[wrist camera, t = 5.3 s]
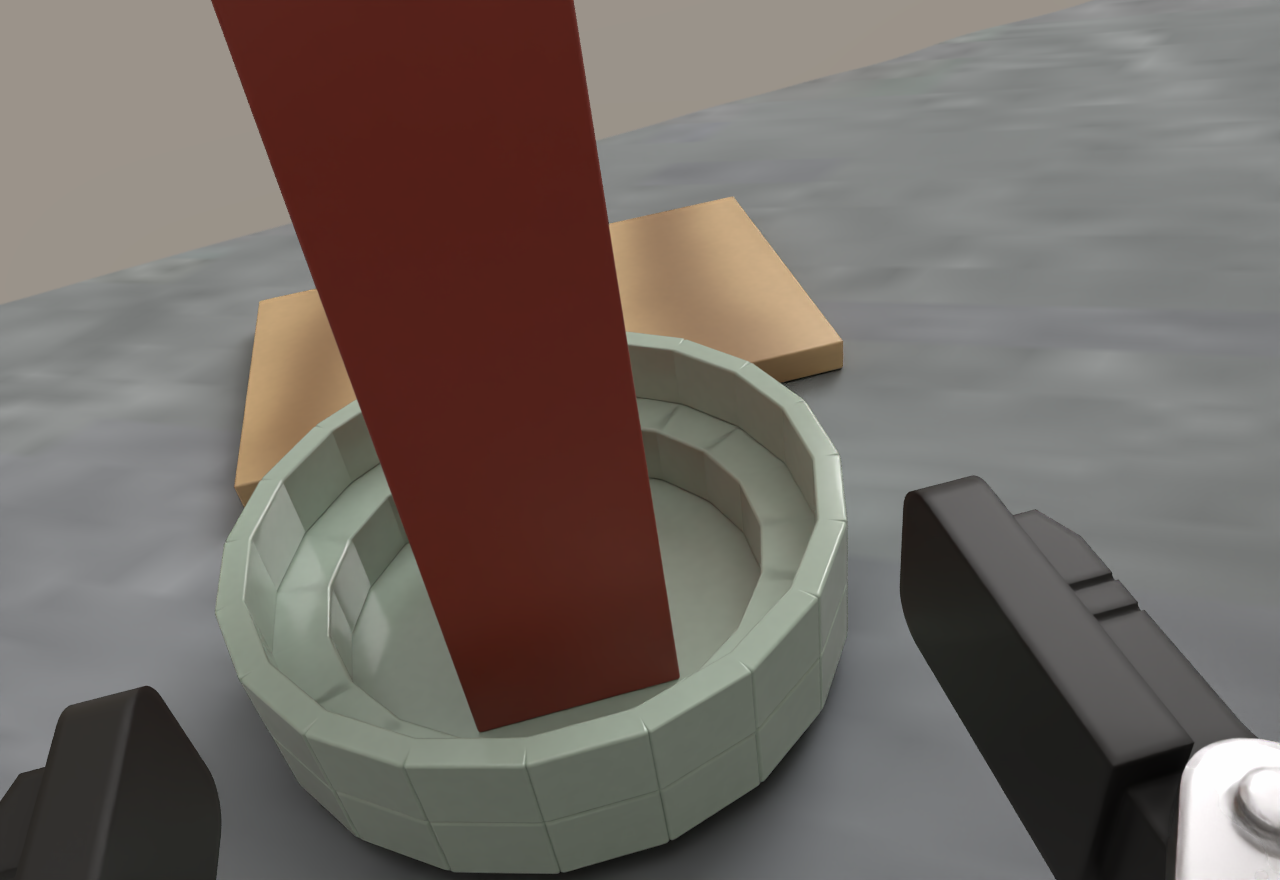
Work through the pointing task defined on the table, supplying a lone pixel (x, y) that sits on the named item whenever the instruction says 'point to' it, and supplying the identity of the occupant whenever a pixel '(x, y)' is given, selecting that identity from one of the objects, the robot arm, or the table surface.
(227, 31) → the red rectangular block
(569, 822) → the bowl
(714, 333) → the board
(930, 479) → the table surface
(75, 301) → the table surface
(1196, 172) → the table surface
